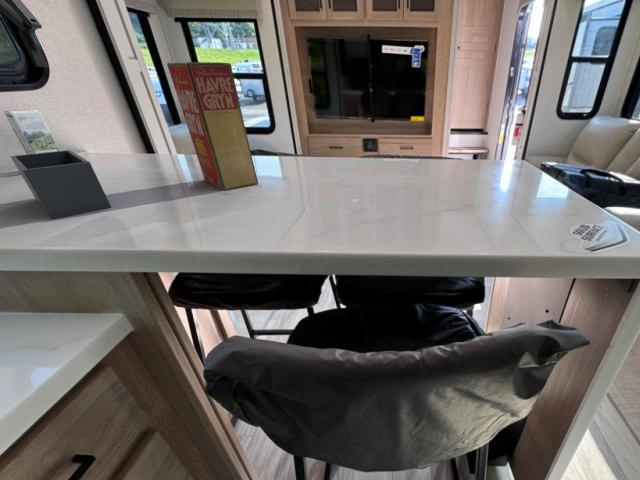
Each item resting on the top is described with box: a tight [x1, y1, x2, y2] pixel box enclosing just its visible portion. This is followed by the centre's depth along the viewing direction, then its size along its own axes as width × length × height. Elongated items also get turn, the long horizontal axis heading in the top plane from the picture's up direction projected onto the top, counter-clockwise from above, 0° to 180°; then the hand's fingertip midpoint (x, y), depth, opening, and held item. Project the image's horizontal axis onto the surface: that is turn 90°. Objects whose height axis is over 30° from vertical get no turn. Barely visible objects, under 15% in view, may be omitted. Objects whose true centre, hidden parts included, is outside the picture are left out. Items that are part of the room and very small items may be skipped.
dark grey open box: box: [10, 149, 112, 220], centre depth 68 cm, size 17×9×9 cm, turn 49°
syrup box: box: [3, 109, 61, 155], centre depth 90 cm, size 6×6×14 cm
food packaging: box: [166, 61, 259, 192], centre depth 78 cm, size 13×9×25 cm
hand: (12, 66), depth 79 cm, fingers open, 13 cm apart
